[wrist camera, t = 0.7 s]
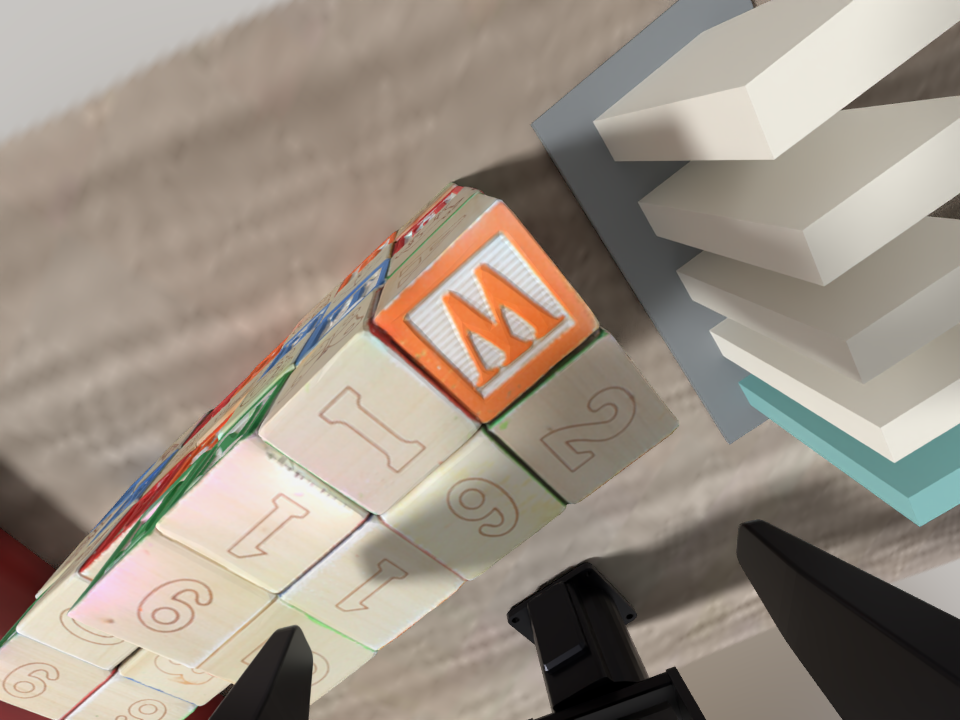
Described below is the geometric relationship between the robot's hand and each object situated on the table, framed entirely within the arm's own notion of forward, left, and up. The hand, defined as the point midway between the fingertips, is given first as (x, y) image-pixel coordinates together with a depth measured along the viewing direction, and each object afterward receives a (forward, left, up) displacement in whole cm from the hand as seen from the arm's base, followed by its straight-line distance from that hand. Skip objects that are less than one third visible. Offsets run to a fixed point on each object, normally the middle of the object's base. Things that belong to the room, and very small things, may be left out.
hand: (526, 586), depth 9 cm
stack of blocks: (+2, +6, -14) cm, 15 cm away
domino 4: (-8, -12, -13) cm, 20 cm away
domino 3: (-4, -12, -13) cm, 18 cm away
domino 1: (+3, -12, -13) cm, 18 cm away
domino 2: (-1, -12, -13) cm, 18 cm away
